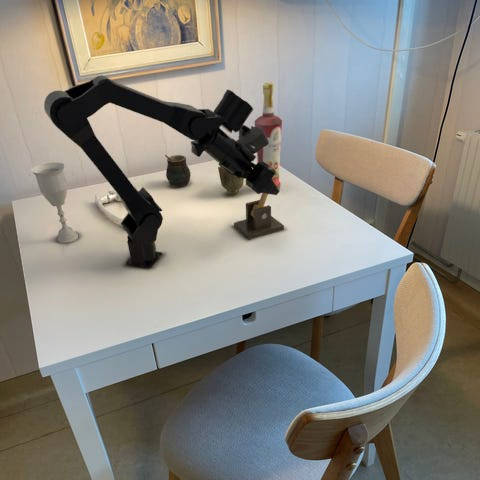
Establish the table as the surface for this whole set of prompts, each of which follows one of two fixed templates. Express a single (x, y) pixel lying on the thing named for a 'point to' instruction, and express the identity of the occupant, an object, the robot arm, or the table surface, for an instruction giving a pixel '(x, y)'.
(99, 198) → the door handle
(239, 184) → the cup
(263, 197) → the lever
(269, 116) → the liquor
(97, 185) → the table surface
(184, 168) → the mate gourd
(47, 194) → the chalice
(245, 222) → the bracket
